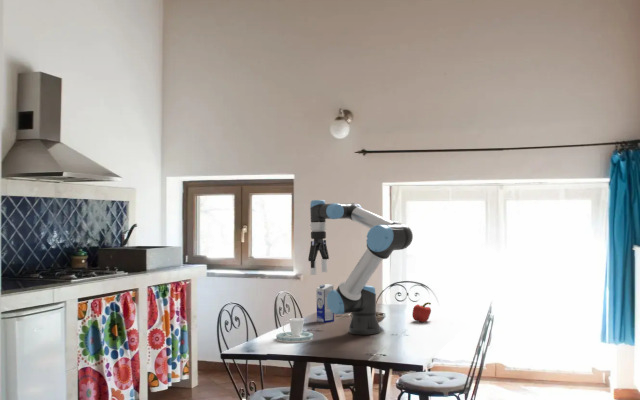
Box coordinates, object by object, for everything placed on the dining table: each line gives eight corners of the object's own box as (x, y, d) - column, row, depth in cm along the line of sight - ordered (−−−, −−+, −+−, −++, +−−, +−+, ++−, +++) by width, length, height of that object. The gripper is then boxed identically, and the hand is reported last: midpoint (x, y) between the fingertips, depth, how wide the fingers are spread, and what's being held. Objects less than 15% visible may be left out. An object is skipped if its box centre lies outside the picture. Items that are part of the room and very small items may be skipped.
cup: (304, 337, 302) (303, 320, 302) (282, 338, 302) (282, 320, 302) (304, 334, 309) (303, 317, 309) (283, 335, 309) (282, 318, 309)
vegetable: (427, 319, 353) (426, 301, 353) (436, 322, 343) (435, 303, 343) (408, 320, 349) (408, 302, 350) (417, 323, 340) (417, 304, 340)
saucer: (318, 336, 308) (318, 332, 308) (303, 343, 292) (303, 339, 292) (286, 334, 314) (286, 330, 314) (270, 341, 299) (270, 337, 299)
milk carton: (334, 321, 351) (333, 284, 352) (324, 322, 347) (323, 285, 348) (326, 319, 357) (326, 283, 358) (316, 321, 353) (316, 284, 354)
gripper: (321, 230, 337) (322, 271, 337) (301, 231, 314) (301, 275, 314) (334, 230, 334) (335, 271, 334) (315, 231, 311) (315, 275, 311)
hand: (319, 273), depth 324 cm, fingers open, 13 cm apart
